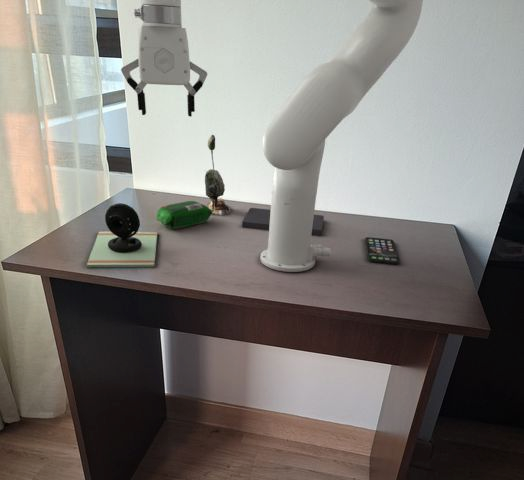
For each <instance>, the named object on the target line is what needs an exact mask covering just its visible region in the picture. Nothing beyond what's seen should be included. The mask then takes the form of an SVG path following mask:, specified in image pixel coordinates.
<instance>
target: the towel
mask: <svg viewBox="0 0 524 480" xmlns="http://www.w3.org/2000/svg"><path fill="white" fill-rule="evenodd" d="M133 233H134V232H133ZM131 234H132V233H131ZM117 237H118V236H116V235H114V234H113V233H112V232H111V231H98V233H97V236H96V239H95V242H94V244H93V247H92V249H91V251H90V255H89V258H88V260H87V262H86V268H155V266H156V256H157V255H156V253H157V245H158V244H157V243H158V232H157V231H137V233H136V234H135V235H134V236H132V237H134V238H137V239H139V240H140V241H141V243H142V246H141V248H140V249H138V250H136V251H133V252H127V253H119V252H114V251H112V250H111V249H109V247H108V242H109V241H110V240H111V239H113V238H117ZM131 245H134V244H133V243H129V244H128V246H131Z"/></svg>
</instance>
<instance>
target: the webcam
mask: <svg viewBox="0 0 524 480" xmlns="http://www.w3.org/2000/svg"><path fill="white" fill-rule="evenodd" d="M104 220H105V221H104V222H105V224H106V227H107V229H108V231H109V232H112V233H113V234H114V235H116V236H118V237H117V238H113V239H111V240H110V241H109V242H108V247H109V249H111V250H112V251H114V252H119V253H127V252H133V251H136V250H138V249H140V248H141V246H142V243H141V241H140V240H139V239H137V238H134V237H132V236H134V235H135V234H136V233H137V232H139V229H140V226H141V221H140V217H139V215H138V212H137V211H136V210H135V209H134V207H131V206H130V205H128V204H126V203H120V202H119V203H118V202H117V203H115V204H114V203H113V204H111V205H110V206H109V207H108V208H107V210H106V212H105V215H104ZM133 232H134V233H133ZM131 233H132V234H131ZM129 243H133V244H134V245H131V246H128V244H129Z"/></svg>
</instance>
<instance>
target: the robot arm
mask: <svg viewBox="0 0 524 480" xmlns="http://www.w3.org/2000/svg"><path fill="white" fill-rule="evenodd" d="M368 1H369V2H370V3H372V5H371V8H370V10H369V13H368V14H367V15H366V17H365V19H364V20H363V21H362V23H360V24H359V26H358V27H357V28H356V29H355V30H354V31H353V33H352V34H351V35H350V37H349V39H348V40H347V41H346V42H345V44H344V45H343V46H342V48H341V49H339V51H338V52H337V53H336V55H335V56H334V57H333V58H332V59H331V60H330V61H328V62H324V63H322V64H321V63H320V64H319V65H318V66H316V67H314V68H312V70H310V71H309V72H308V74H307V75H306V76H304V78H303V79H302V80H301V81H300V83H299V84H298V85H297V87H295V89H294V90H293V91H292V92H291V94H290V96H289V97H288V98H287V100H286V101H285V102H284V103H283V104H282V106H281V107H280V109H278V111H277V112H276V113H275V115H274V116H273V117H272V119H271V120H270V122H269V123H268V125H267V126H266V128H265V130H264V133H263V136H262V151H263V154H264V157H265V159H266V160H267V162H268V163H269V164H270V165H271V166H273V167H274V169H273V176H272V178H273V179H272V185H271V186H272V189H271V199H270V210H271V212H270V226H269V230H268V240H267V248H266V249H263V251H262V252H261V253H260V258H259V259H260V262H261V263H262V264H263V266H265V267H267V268H269V269H272V270H275V271H279V272H284V273H299V272H300V273H301V272H305V271H309V270H310V269H312V268H313V267H314V266H315V264H316V258H317V257H330V255H331V248H330V247H323V245H322V244H313V243H312V236H313V235H312V226H313V218H314V214H315V210H316V202H317V194H318V186H319V178H320V172H321V168H322V162H323V157H324V152H325V148H326V140H327V138H328V137H329V136H330V134H331V133H333V131H334V130H335V129H336V128H337V127H338V126H339V124H340V123H341V122H342V121H343V120H344V119H345V118H347V117H348V116H349V115H351V114H352V113H353V112H354V111H355V110H356V108H357V107H358V105H359V104H360V102H361V101H362V100H363V99H364V97H365V96H366V95H367V94H368V93H369V92H370V90H371V89H372V88H373V86H374V85H375V84H376V83H377V82H378V81H379V79H380V78H381V77H382V76H383V75H384V74H385V72H386V71H387V69H389V67H390V66H391V65H392V64H393V62H394V61H395V60H396V59H397V58H398V56H399V55H400V54H401V53H402V52H403V50H404V49H405V47H406V46H407V44H408V43H409V41H410V40H411V38H412V36H413V35H414V33H415V31H416V29H417V26H418V23H419V20H420V17H421V13H422V9H423V1H424V0H368ZM140 2H141V3H140V4H141V7H139V8H138V9H137V8H134V9H133V12H134V13H133V14H134V18H138V19H140V20H141V21H142V25H138V29H137V30H138V31H137V32H138V33H137V57H138V58H136V59H134V60H133V61H131V62H129V63H127V64H126V65H124V66H122V67H121V69H120V71H121V74H122V75H123V77H124V79H125V80H126V83H127V84H128V86H129V87H131V88H132V90H134V92H135V93H136V96H137V107H138V111H141V115H142V116H145V115H146V114H147V107H146V106H147V105H146V93H145V92H144V89H145V88H146V87H147V84H148V85H163V86H183V87H184V88H185V89H186V90H187V94H186V98H187V115H188V117H190V118H191V117H192V116H193V113H195V112H196V109H195V108H196V107H195V104H196V103H195V96H196V94H197V93H198V92H199V91H200V90H201V89H202V88H203V86H204V83H205V81H206V79H207V77H208V72H207V71H206V70H205V69H204V68H202V67H201V66H198V65H197V64H195V63H194V62H192V61H191V60H190V49H189V48H190V47H189V39H188V33H187V29H186V27H183V25H182V23H183V22H182V21H183V19H182V0H140ZM137 68H138V74H139V79H140V81H139V82H137V81H136V80H135V79H134V78H133V76H132V74H131V72H132V71H133V70H135V69H137ZM191 71H193V73H195V74H197V75H198V79H197V81H196V82H194V84H193V85H192V83H191V82H190V81H191Z"/></svg>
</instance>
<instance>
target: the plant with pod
mask: <svg viewBox="0 0 524 480" xmlns="http://www.w3.org/2000/svg"><path fill="white" fill-rule="evenodd" d="M207 147H208V150H209V151H210V153H211V154H210V155H211V163H212V168H210V169H209V170H206V169H205V170H204V171H205V175H204V185H205V187H204V188H205V196H206V197H207V198H208V199H210V202H209V203H208V204H207V205H206V206H207V207H208V208H209V209H211V210H212V214H211V215H216V216H222V215H223V216H224V215H226V214H229V213H230V212H231V207H230V205H228V204H226V202H225V200H224V199H223V198H220V197H223V196H224V195H225V194H224V193H225V190H226V188H225V187H226V186H225V185H226V184H225V182H224V179H223V177H222V175H221V173H220V171H218V170H216V169H215V165H214V156H213V154H214V151H215V149H216V136H215V134H211V135H210V136H209V138H208V140H207ZM218 198H219V199H218Z"/></svg>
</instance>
